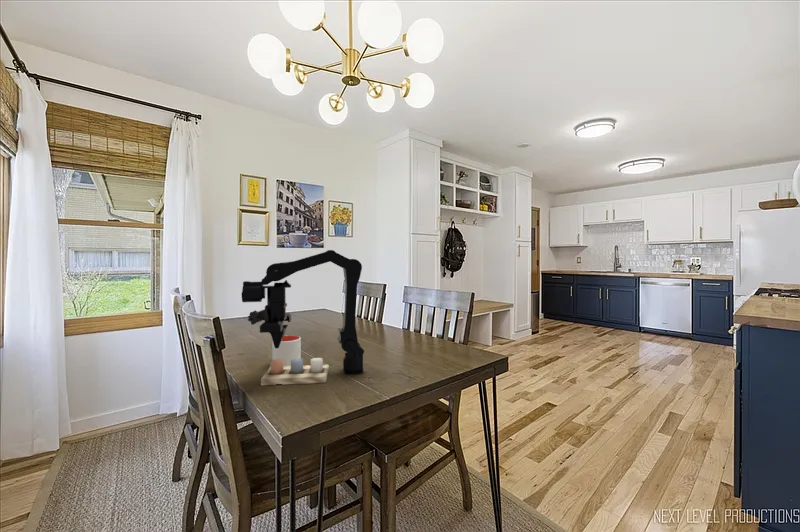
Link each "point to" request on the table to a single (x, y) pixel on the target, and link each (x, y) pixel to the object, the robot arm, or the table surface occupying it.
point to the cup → (287, 349)
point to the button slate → (296, 366)
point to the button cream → (316, 365)
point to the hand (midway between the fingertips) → (277, 348)
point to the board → (295, 376)
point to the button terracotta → (276, 366)
